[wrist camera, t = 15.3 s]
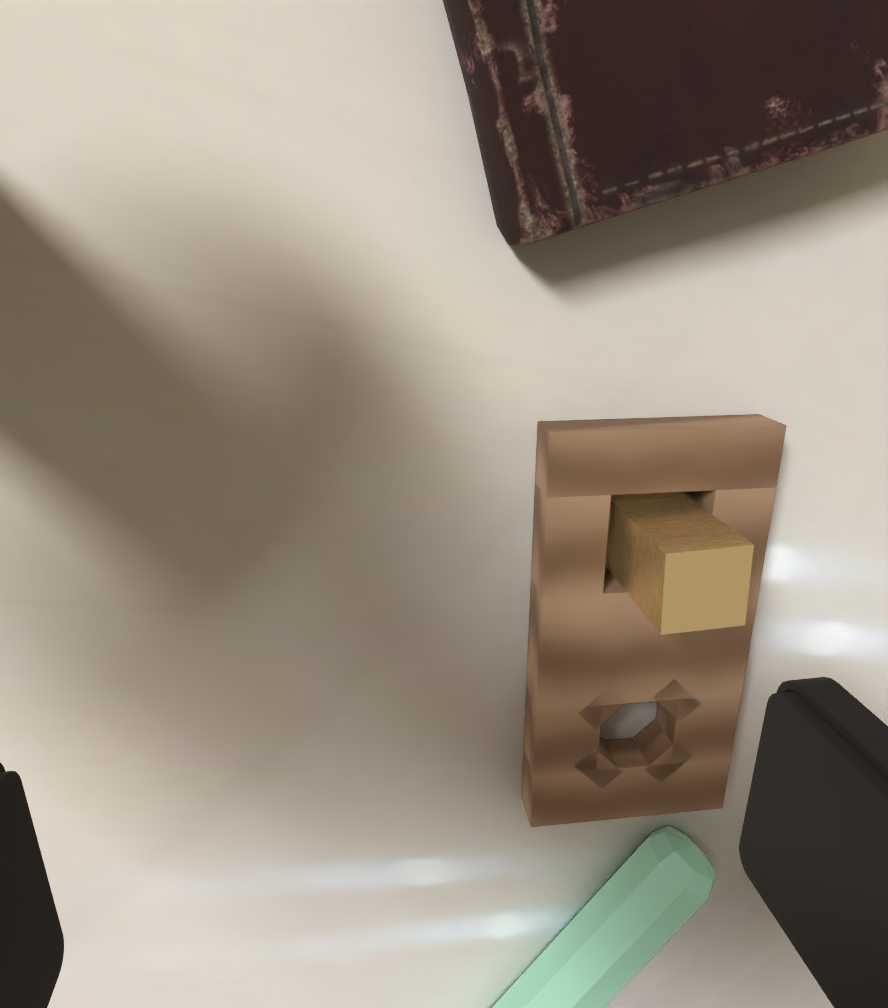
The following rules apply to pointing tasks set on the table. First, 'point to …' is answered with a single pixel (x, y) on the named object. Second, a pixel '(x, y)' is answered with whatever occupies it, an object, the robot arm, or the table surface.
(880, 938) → the robot arm
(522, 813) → the table surface
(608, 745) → the socket block
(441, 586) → the table surface
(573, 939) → the mint green tapered bar
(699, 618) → the square peg
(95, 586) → the table surface
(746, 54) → the diary
